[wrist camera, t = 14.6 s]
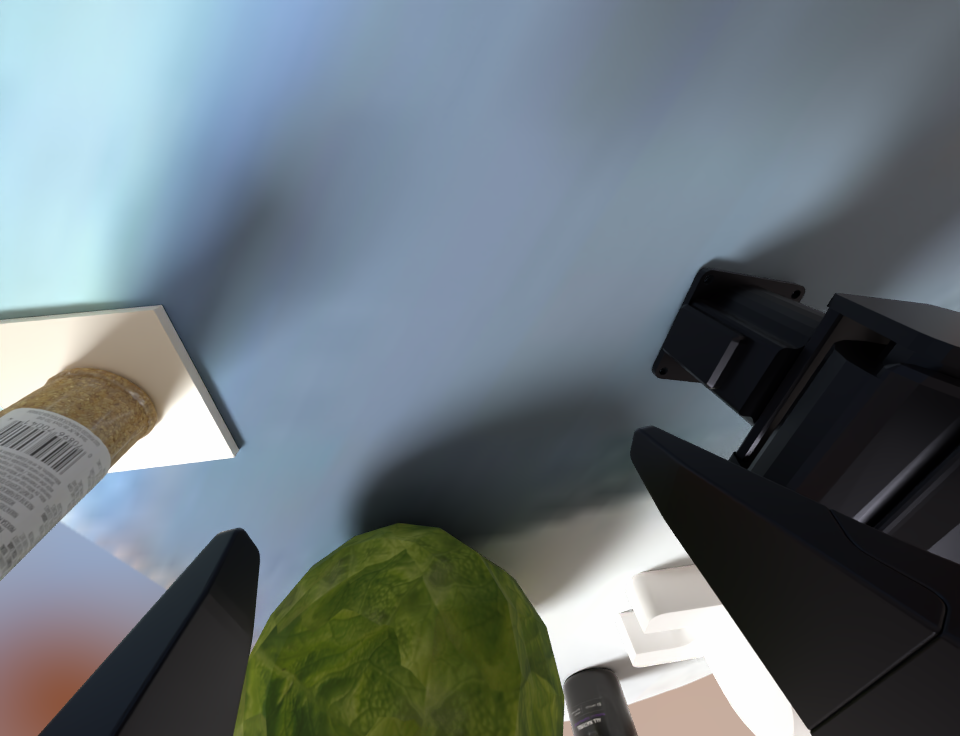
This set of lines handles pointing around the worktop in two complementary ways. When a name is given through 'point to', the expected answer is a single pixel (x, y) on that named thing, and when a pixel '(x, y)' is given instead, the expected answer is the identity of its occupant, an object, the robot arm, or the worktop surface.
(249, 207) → the worktop surface
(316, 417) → the worktop surface
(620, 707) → the supplement bottle
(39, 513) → the sprinkles bottle
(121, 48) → the worktop surface
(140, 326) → the pad
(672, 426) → the worktop surface
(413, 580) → the lettuce
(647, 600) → the bracket
